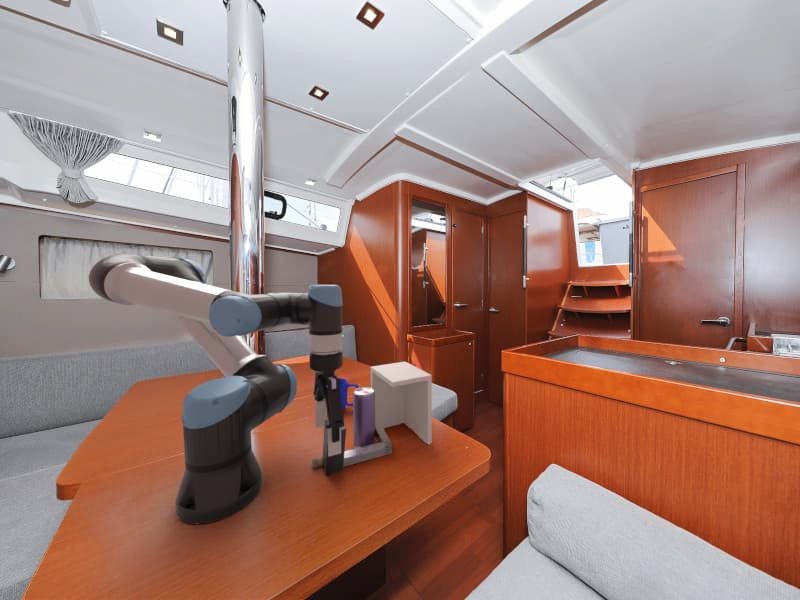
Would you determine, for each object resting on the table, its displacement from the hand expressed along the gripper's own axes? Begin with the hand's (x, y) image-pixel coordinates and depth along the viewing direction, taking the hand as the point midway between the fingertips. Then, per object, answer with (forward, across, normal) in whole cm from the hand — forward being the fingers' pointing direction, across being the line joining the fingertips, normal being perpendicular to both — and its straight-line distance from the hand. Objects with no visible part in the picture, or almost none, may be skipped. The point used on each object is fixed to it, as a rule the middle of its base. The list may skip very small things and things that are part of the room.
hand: (327, 438), depth 68 cm
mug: (+7, +29, -11) cm, 32 cm away
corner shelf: (+7, +4, -22) cm, 23 cm away
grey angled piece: (+6, +1, -7) cm, 10 cm away
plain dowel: (+7, +2, -3) cm, 8 cm away
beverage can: (+7, +5, -11) cm, 14 cm away
